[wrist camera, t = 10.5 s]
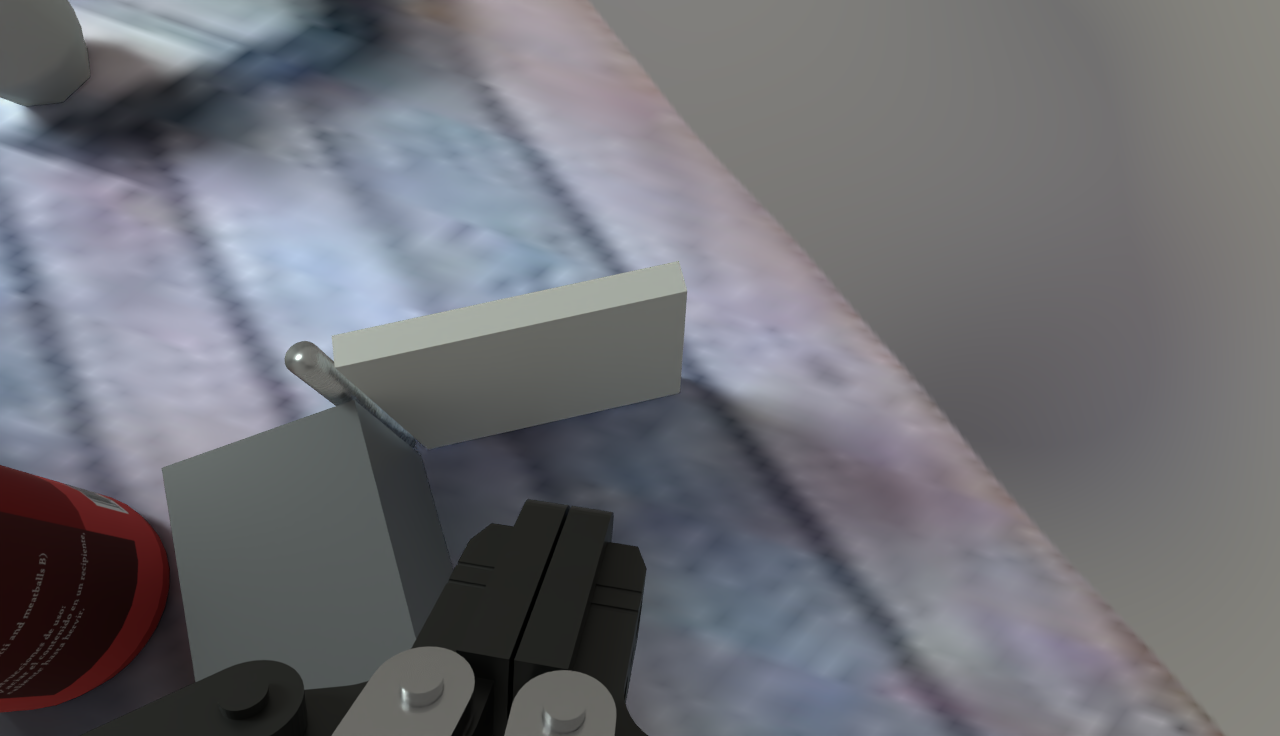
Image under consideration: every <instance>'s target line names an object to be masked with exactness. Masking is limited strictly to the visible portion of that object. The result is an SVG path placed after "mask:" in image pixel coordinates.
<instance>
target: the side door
mask: <svg viewBox="0 0 1280 736" xmlns="http://www.w3.org/2000/svg"><path fill="white" fill-rule="evenodd" d="M686 300H687V289H686V285H685V282H684V278H683V274H682V271H681V267H680V264H679V261H677V262H673V263H668V264H664V265H659V266H654V267H650V268H645V269H640V270H636V271H631V272H626V273H622V274H617V275H612V276H608V277H603V278H598V279H594V280H589V281H585V282H580V283H575V284H571V285H566V286H561V287H557V288H552V289H547V290H543V291H538V292H533V293H529V294H524V295H519V296H515V297H510V298H506V299H501V300H496V301H492V302H487V303H482V304H478V305H473V306H468V307H464V308H459V309H454V310H450V311H445V312H440V313H436V314H431V315H427V316H422V317H417V318H413V319H408V320H403V321H399V322H394V323H389V324H385V325H380V326H375V327H371V328H366V329H361V330H357V331H352V332H348V333H343V334H338V335H334V336H332V344H333V354H334V365H335V368H336V369H337V370H338V371H339V372H340V373H341V374H342V375H344V376H345V377H346V378H347V379H348V380H349V381H350V382H351V383H353V384H354V385H355V386H356V387H357V388H358V389H359V390H361V391H362V392H363V393H364V394H365V395H366V396H367V397H369V398H370V399H371V400H372V401H373V402H374V403H375V404H377V405H378V406H379V407H380V408H381V409H382V410H383V411H385V412H386V413H387V414H388V415H389V416H390V417H391V418H393V419H394V420H395V421H396V422H397V423H398V424H399V425H400V426H402V427H403V428H404V429H405V430H406V431H407V432H408V433H410V434H411V435H412V436H413V437H414V438H415V439H416V440H418V441H419V442H420V443H421V444H422V445H423V446H424V447H426V448H427V449H428V450H429V449H433V448H438V447H442V446H446V445H451V444H455V443H460V442H464V441H469V440H473V439H478V438H482V437H487V436H491V435H495V434H500V433H504V432H509V431H513V430H518V429H522V428H527V427H531V426H535V425H540V424H544V423H549V422H553V421H558V420H562V419H567V418H571V417H575V416H580V415H584V414H589V413H593V412H598V411H602V410H607V409H611V408H616V407H620V406H624V405H629V404H633V403H638V402H642V401H647V400H651V399H656V398H660V397H664V396H669V395H673V394H678V393H680V384H681V370H682V356H683V342H684V328H685V314H686Z"/></svg>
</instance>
